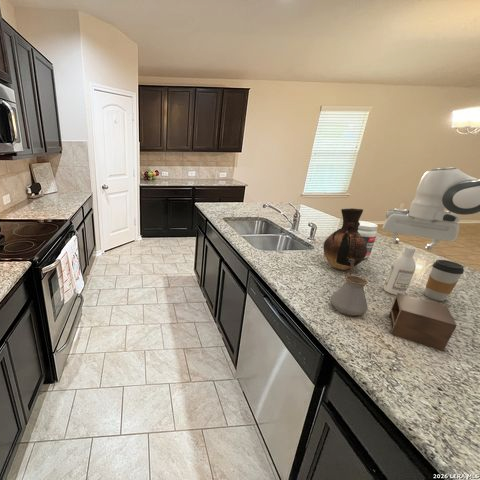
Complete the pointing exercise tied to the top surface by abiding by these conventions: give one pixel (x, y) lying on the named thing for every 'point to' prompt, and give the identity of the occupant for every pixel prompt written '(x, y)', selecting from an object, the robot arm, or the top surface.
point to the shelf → (422, 321)
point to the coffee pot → (351, 295)
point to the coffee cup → (443, 279)
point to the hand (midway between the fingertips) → (411, 246)
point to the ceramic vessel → (346, 242)
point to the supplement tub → (368, 234)
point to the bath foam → (401, 273)
